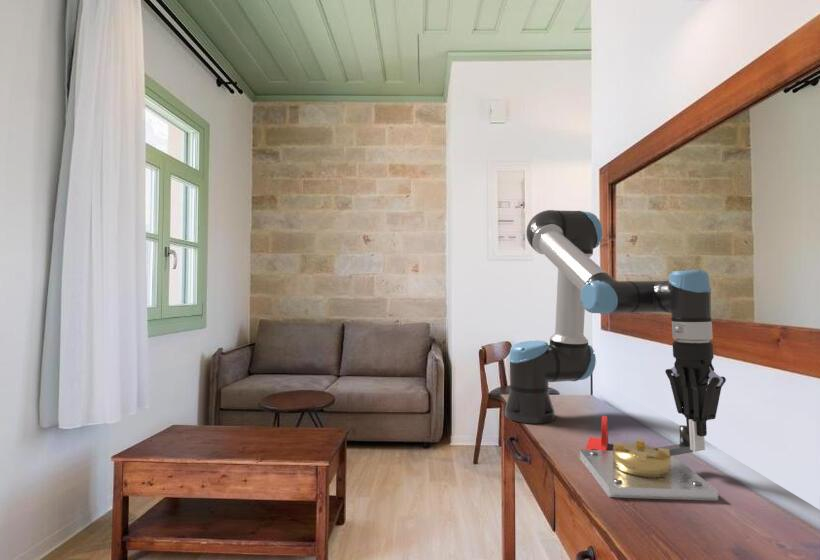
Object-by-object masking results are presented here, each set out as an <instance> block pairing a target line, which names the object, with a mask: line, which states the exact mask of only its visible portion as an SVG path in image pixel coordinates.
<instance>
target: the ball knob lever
mask: <svg viewBox="0 0 820 560" xmlns="http://www.w3.org/2000/svg"><path fill="white" fill-rule="evenodd" d="M635 442H636V443H623V442H616V441H614V442H613V448H612V451H613V464H614V466H615V467H617V468H618V469H620V470H622V471H624V472H627V473H630V474H634V475H638V476H644V477H663V476H667V475H669V474H670V473H671V457H670V456H680V455H684V454H689V453H690V454H691V453H693V452H694V451H692V450H690V435H689V433H688V432H687V425H679V444H672V445H666V446H660V447H656V446H652V445H648V444H646V442H645V439H641V438H636V441H635Z"/></svg>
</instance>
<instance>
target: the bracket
mask: <svg viewBox="0 0 820 560" xmlns="http://www.w3.org/2000/svg"><path fill="white" fill-rule="evenodd" d="M608 419H609V418H608V416H606V415H602V416H601V426H600V430H601V431H600V435H601V436H600V437H599V438H598V437H593V436H592V437H591V436H589V438H588V441H587V444H586V446H585V449H584V450H605V451H608V446H609V420H608Z"/></svg>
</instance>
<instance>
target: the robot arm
mask: <svg viewBox="0 0 820 560" xmlns="http://www.w3.org/2000/svg"><path fill="white" fill-rule="evenodd" d="M525 232H526V239H527V242H528V244H529V245H530V247H531V248H532V249H533V250H534V251H535V252H536V253H537V254H540V255H544V256H545V257H546V258H547V260H549V261H550V262H551V263H552V264H553V265H554V267H556V268H557V285H556V306H555V307H556V308H555V328H554V329H555V330H554V333H553V334H552V335H551V336H550V337H549V343H548V342H547V341H545V340H527V341H520V342H516V343H515V344H513V345H512V346H511V347H510V351H509V383H510V384H509V395H508V397H507V401H506V403H505V406H504V407H505V408H504V417H505V418H506V419H508V420H511V421H514V422H517V423H518V422H519V423H523V424H546V423H550V422H552V421H553V422H554V420H555V417H556V416H555V415H556V413H555V408H554V405H553V403H552V400H551V397H550V393H549V383H556V382H577V381H582V380H586V379H588V378H589V377H590V376H592V375H593V373H594V370H595V368H596V363H597V360H596V354H595V351H594V348H593V347H592V345H589V340H588V338H587V337H586V336H585V335H584V329H585V314H586V313H585V311H586V312H587V313H591V314H601V315H608V314H626V313H627V314H628V313H629V314H631V313H632V314H637V313H639V314H642V313H668V314H670V315H671V316H670V317H671V332H672V333H671V334H672V335H671V336H672V339H674V341H673V342H672V356H673V358H675V362H674V364H673V366H672V367H671V368H667V369H665V371H664V372H665V374H666V376H667V379H668V380H669V383H670V386H671V388H670V389H671V391H672V395H673V398H674V403H675V407H676V411H677V413H678V414H681V415H683V416H684V418H685V420H686V421H685V422H686V426H687V432H688V433H689V435H690V450H692V451H693V452H700V451H705V450H706V448H705V447H706V446H705V444H706V443H705V437H706V436H707V435H708V432H707V431H708V430H707V421H711V420H715V419H716V416H717V411H718V407H719V402H720V401H719V400H720V396H721V391H722V387H723V386H724V384H725V383H726V381H727V378H726V377H725V376H720V375H719V374H717V373H716V372H715V369H714V368H715V366H713V364H712V361H713V359H714V344H713V342H712V341H711V340H713V338H714V337H713V323H712V322H713V321H712V308H711V307H712V305H711V299H712V298H711V292H712V288H711V283H710V276H709V273H708V272H707V271H705V270H702V269H692V270H675V271H674V270H673V271H671V272H670V273H669V279H668V280H640V281H639V280H635V281H634V280H632V281H631V280H627V281H625V280H616V279H614V277H613V276H611V275H610V274H609V273H608V272H606V271H605V270H604V269H603V268H602V267H601V266H599V265H598V264H597V263H596V262H595V261H594V260H593V259H591V257H592V256H593V254H594V249H596V248H597V247H599V246H600V242H602V240H603V227H602V223H601V220H600V219H599V218H598V216H597V215H595V213H592V212H590V211H583V210H555V209H548V210H544V211H541V212H538V213H536V214H535V215H534V216H533V217H532V218H531V219H530V221H529V222H528V224H527V226H526V231H525Z"/></svg>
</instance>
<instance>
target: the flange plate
mask: <svg viewBox="0 0 820 560" xmlns="http://www.w3.org/2000/svg"><path fill="white" fill-rule="evenodd" d="M670 457H671V473H670V474H669V475H667V476H663V477H644V476H638V475H634V474H630V473H627V472H624V471H622V470H620V469H618V468H617V467H615V466H614V464H613V450H607V451H605V450H585V449H580V450H579V459H580V460H581V462H582V463H583V464H584V466H585V467H586V469H587V470H588V471H589V472H590V473H592V474H591V475H592V477H593V478H594V479H595V480H596V481H597V483H598V484H599V486H600V487H601V489H602V490H603V492H605V494H606V496H607V497H608V498H617V499H618V498H619V499H623V498H624V499H647V500H648V499H649V500H650V499H651V500H675V501H676V500H679V501H680V500H681V501H710V502H712V501H713V502H714V501H715V502H719V490H718V489H717V488H716V487H715V486H713V485H712V484H711V483H709V482H708V481H707V480H705V479H704V478H702V477H701V476H700V475H699V474H697V473H696V472H694V471H693V470H692V469H691V468H689V467H688V466H687V465H685V464H684V463H683V462H681V460H679V459H677V458H676V457H675V455H673V456H670Z"/></svg>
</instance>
